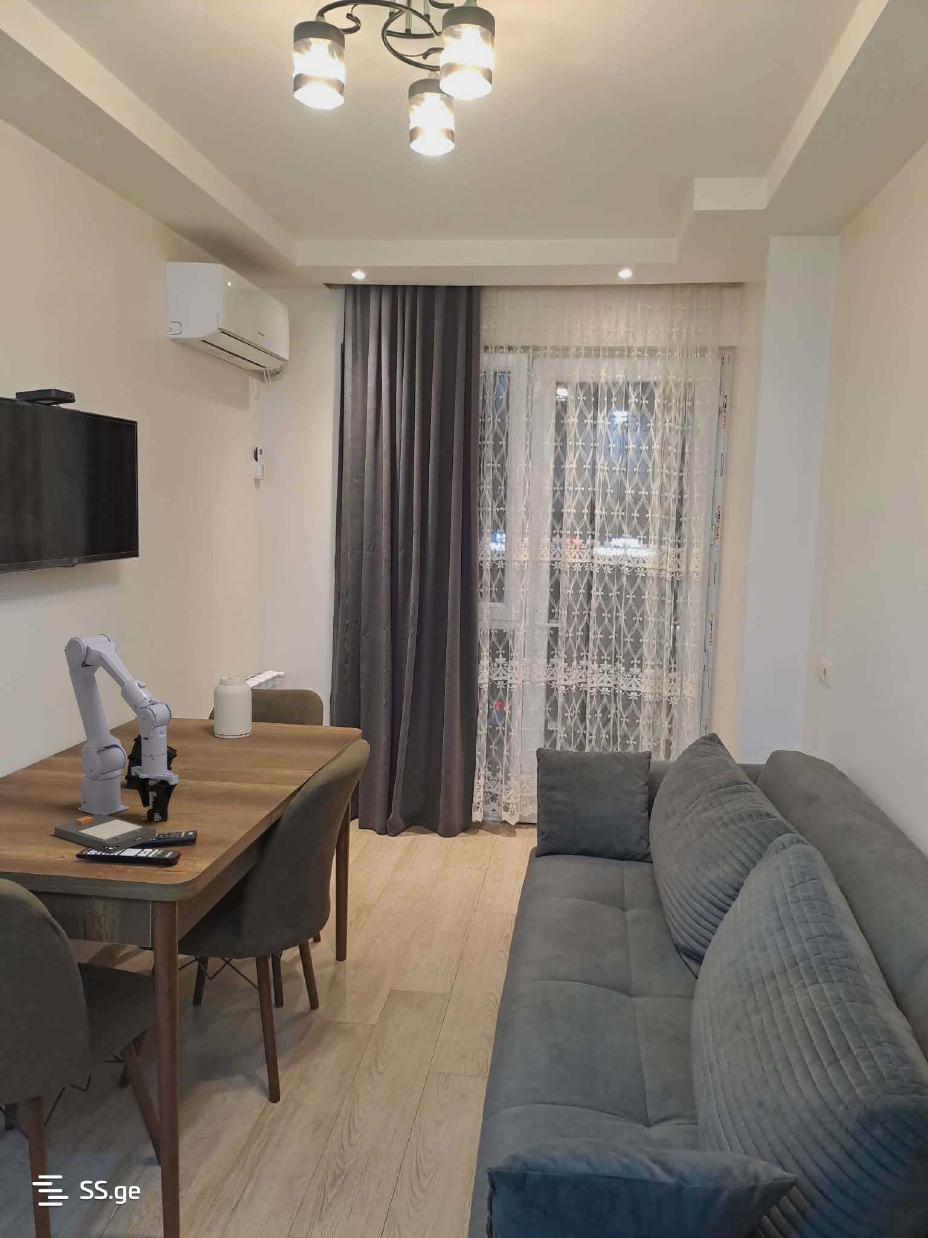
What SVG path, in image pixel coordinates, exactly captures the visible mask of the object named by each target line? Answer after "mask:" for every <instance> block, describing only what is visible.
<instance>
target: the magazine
mask: <svg viewBox="0 0 928 1238" xmlns="http://www.w3.org/2000/svg"><path fill="white" fill-rule="evenodd" d="M133 742H134V744H133V746H132V748H131V752H130V753H129V754H127V760H129V761H128V762H127V764H128V765H127V771H126V772H127V773H126V774H125V775H124V780H125V781H126V789H130V790H137V788H136V786H135V785H134V783H133V779H136V778H137V777H138V775H135V776H133V775H132V767H136V766H142V736H141V735H140V733H139V734H137V736H136V737H135V738H134V739H133ZM177 752H178V750H177V749H176V748H173V747H172V746H169V745H168V744H167V770H169V771H170V772H171V771H172V769H173V767H171V765H172V763H173V761H174V759H175V758H177V756H178V754H177Z"/></svg>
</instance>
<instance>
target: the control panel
mask: <svg viewBox="0 0 928 1238" xmlns="http://www.w3.org/2000/svg"><path fill="white" fill-rule="evenodd" d="M53 828H54V836H55V837H58V838H61V839H65V840H68V841H71V842H74V843H76V844H80V845H82V846H86V847H89V848H93V849H95V850H97V851H101V852H104V853H108V854H114V853H117V852H119V851H122V850H126V849H129V848H132V847H134V846H136V845H140V844H143V843H145V842H148V841H151V840H153V839H156V838H157V830H156V828H152V827H149V826H145V825H141V824H138V823H136V822H135V823H134V822H132V821H127V820H125V819H120V818H118V817H114V816H111V815H104V814H100V813H99V814H96V815H94V814H92V815H89V816H88V815H87V816H83V817H80V818H77V819H75V820H74V821H70V822H67V823H64V824H63V823H62V824H59V825H56V826H54V827H53ZM138 838H142V839H139V840H136V839H138ZM134 840H136V841H134ZM132 841H133V842H132ZM96 844H101V845H103V846H107V847H116V846H119V847H116V848H113V849H109V848H106V847H103V846H99V845H96Z"/></svg>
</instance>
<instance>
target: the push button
mask: <svg viewBox="0 0 928 1238" xmlns="http://www.w3.org/2000/svg"><path fill="white" fill-rule="evenodd" d="M156 783H160V781H159V780H155V779H149V782H148V783H146V784H145V786H146V790H147V791H149V798H150V806H148V809H147V812H146V813H142V814H140V815H139V816H140V820H147V822H161V821H163V822H166V821H168V819H169V808H168V809H167V810H165V811H162V812H160V811H159V810H158V802H157V795H156V792H155V789H154V787H153V784H156ZM152 793H153V797H152ZM141 816H146V817H141Z"/></svg>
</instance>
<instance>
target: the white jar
mask: <svg viewBox="0 0 928 1238" xmlns="http://www.w3.org/2000/svg"><path fill="white" fill-rule="evenodd" d="M252 697H253V693H252V689H251V686H250V685H249V684H248V683H247V680H246V678H245V677H244V676H237V675H236V676H235V675H233V676H231V675H229V676H223V677H221V678H220V679H219V684H217V685H216V686H215V688H214V691H213V733H214V732H215V733H217V734H224V735H240V734H245V733H249V732H250V731H251V730H252V731H253V728H252V725H253V724H252V723H253V722H252V721H253V720H252V718H253V714H252V713H253V709H252V708H253V707H252V706H253V705H252V704H253V702H252V699H253V698H252ZM251 735H252V732H251V733H250V734H247V735H242V736H219V735H216V734H214V736H215V737H217V738H220V739H226V740H227V739H228V740H229V739H230V740H231V739H232V740H233V739H234V740H235V739H242V738H247V737H249V736H251Z"/></svg>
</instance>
